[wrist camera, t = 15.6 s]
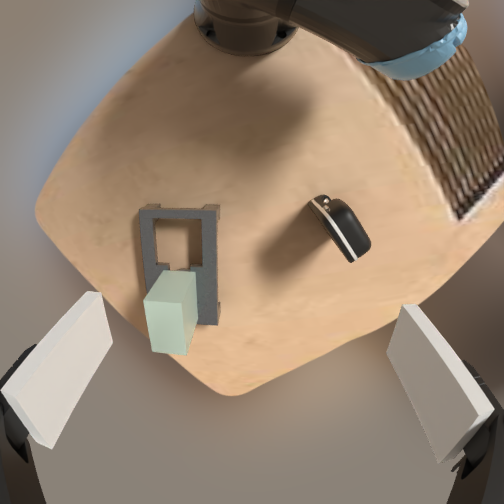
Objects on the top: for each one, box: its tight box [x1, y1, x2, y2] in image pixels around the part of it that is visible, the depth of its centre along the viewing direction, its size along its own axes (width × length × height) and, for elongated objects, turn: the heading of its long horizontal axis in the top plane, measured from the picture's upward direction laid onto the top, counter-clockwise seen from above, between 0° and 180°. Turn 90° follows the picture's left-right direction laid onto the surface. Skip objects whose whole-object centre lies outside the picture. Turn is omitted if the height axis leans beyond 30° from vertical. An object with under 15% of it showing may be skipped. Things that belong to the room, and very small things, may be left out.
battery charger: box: [308, 195, 371, 263], centre depth 37 cm, size 7×4×11 cm, turn 38°
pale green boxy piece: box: [143, 269, 198, 355], centre depth 41 cm, size 8×6×12 cm
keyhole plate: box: [139, 204, 220, 325], centre depth 43 cm, size 18×11×4 cm, turn 178°
